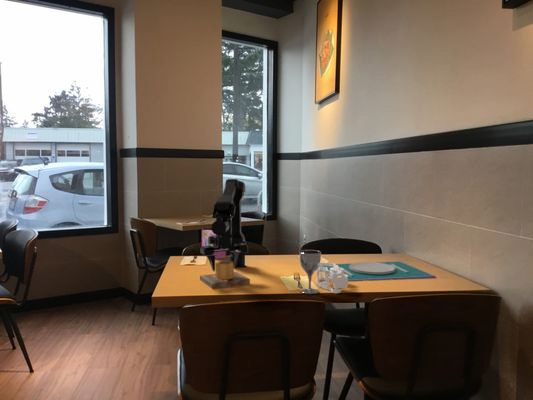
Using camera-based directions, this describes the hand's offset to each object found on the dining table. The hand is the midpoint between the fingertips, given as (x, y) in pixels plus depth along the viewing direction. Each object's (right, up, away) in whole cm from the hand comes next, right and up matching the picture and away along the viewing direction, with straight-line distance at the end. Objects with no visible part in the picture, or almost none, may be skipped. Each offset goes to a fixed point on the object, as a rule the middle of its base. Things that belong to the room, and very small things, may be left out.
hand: (224, 270), depth 181 cm
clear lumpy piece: (+42, -6, -4) cm, 43 cm away
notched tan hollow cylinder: (0, -3, 0) cm, 3 cm away
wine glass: (+33, -6, -12) cm, 36 cm away
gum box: (-11, -1, +55) cm, 56 cm away
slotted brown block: (0, -5, 0) cm, 5 cm away
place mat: (+65, -5, +24) cm, 69 cm away
